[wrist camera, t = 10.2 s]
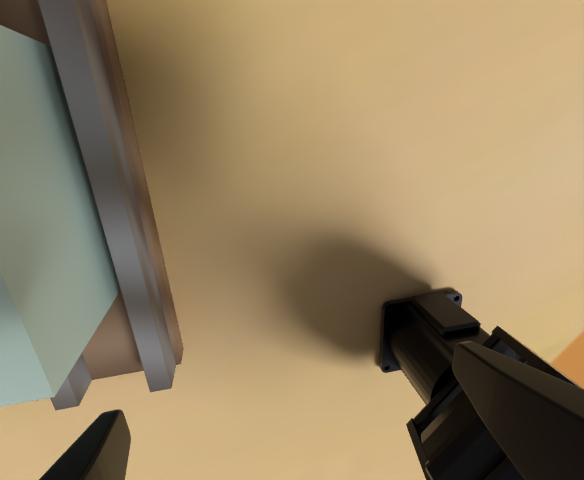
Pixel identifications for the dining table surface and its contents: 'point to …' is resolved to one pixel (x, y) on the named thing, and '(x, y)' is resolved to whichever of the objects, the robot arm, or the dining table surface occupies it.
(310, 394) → the dining table surface
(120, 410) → the robot arm
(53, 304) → the door panel
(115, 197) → the track base
